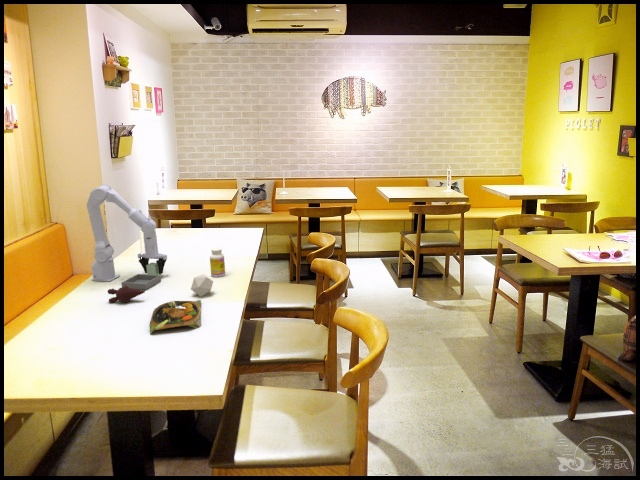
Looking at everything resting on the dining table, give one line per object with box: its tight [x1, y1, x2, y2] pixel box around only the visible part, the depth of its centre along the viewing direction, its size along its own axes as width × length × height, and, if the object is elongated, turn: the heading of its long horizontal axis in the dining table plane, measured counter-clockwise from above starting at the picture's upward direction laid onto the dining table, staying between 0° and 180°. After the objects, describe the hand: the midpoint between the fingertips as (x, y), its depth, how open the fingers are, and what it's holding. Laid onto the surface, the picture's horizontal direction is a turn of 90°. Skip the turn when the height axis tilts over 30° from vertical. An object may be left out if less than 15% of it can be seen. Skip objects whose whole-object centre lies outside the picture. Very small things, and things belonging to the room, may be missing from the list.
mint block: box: [146, 262, 162, 276], centre depth 234 cm, size 4×4×6 cm
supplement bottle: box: [209, 247, 226, 278], centre depth 232 cm, size 7×7×13 cm
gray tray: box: [120, 273, 162, 292], centre depth 222 cm, size 12×12×3 cm
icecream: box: [107, 286, 146, 304], centre depth 202 cm, size 7×7×15 cm
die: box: [190, 273, 214, 297], centre depth 208 cm, size 8×9×10 cm
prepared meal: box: [148, 299, 202, 335], centre depth 186 cm, size 28×4×18 cm
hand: (154, 273), depth 235 cm, fingers open, 7 cm apart
